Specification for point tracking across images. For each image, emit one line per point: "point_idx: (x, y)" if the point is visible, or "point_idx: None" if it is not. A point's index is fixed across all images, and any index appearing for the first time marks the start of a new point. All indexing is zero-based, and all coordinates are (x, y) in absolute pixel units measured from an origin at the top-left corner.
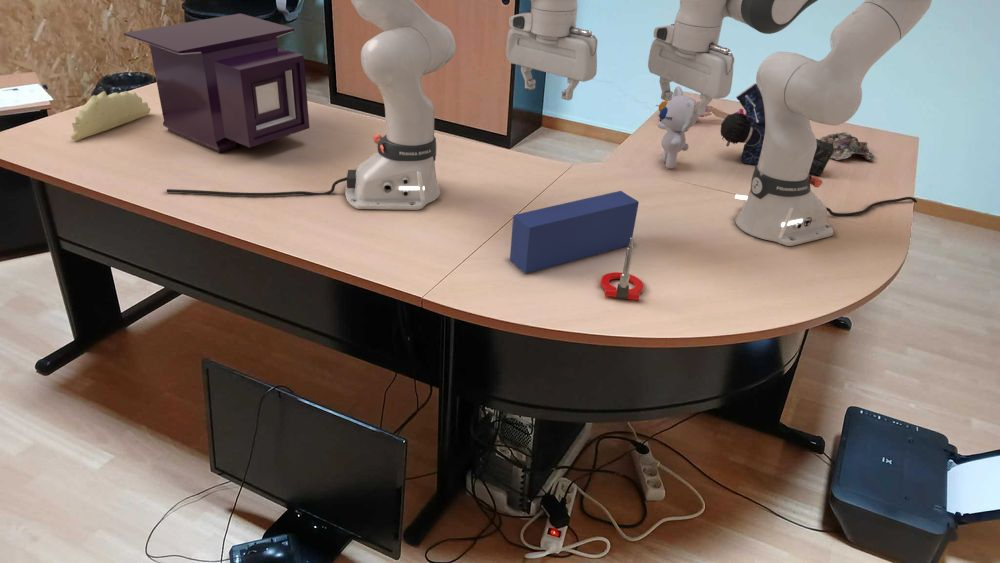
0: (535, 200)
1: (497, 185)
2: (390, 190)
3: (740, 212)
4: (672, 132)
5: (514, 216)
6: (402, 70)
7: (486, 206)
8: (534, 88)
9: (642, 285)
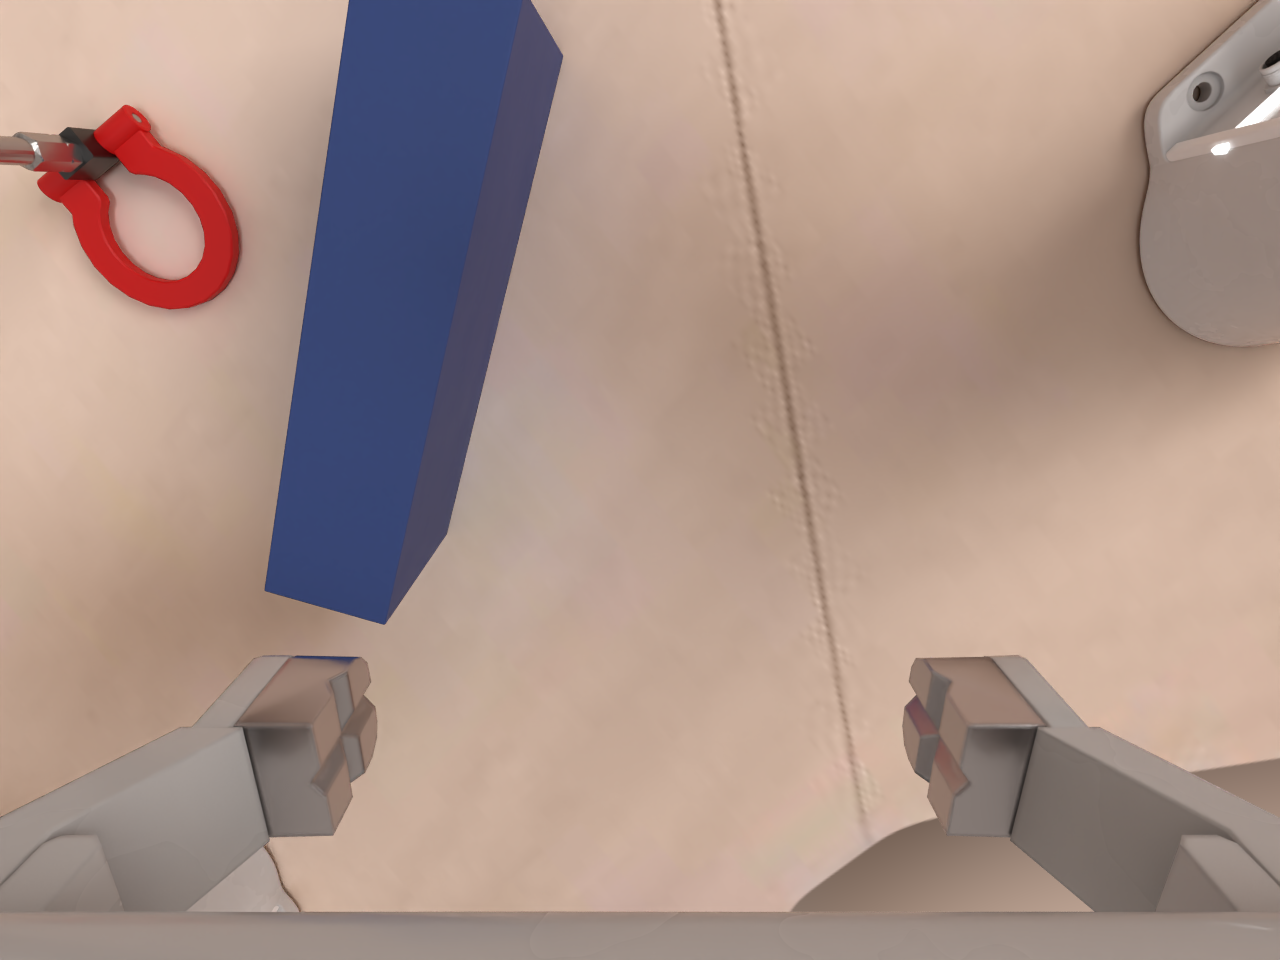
0: (804, 541)
1: (995, 538)
2: None
3: (241, 874)
4: None
5: None
6: None
7: (924, 363)
8: (904, 732)
9: (99, 267)
